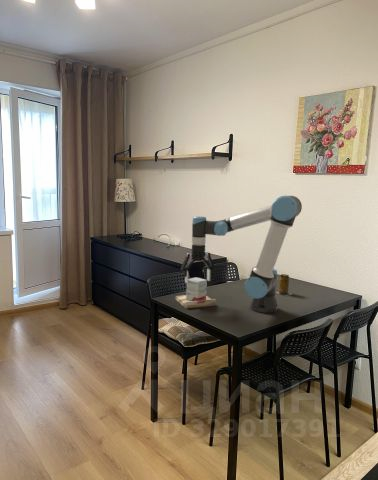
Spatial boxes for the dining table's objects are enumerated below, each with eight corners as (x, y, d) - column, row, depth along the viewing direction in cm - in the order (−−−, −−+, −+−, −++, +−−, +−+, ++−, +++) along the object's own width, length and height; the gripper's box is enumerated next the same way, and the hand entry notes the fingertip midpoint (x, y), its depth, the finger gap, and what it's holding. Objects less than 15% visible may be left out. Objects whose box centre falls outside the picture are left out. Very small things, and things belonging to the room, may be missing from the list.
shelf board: (215, 305, 208) (215, 299, 207) (186, 308, 201) (186, 302, 200) (203, 296, 223) (203, 291, 222) (175, 299, 216) (175, 293, 215)
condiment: (282, 291, 243) (283, 273, 241) (293, 294, 236) (294, 276, 235) (275, 292, 238) (276, 274, 236) (286, 296, 232) (287, 277, 230)
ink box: (206, 299, 211) (207, 279, 210) (197, 302, 205) (198, 282, 203) (194, 296, 217) (195, 276, 215) (185, 299, 210) (186, 279, 208)
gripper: (215, 242, 214) (214, 278, 217) (175, 244, 204) (174, 281, 207) (221, 244, 207) (220, 281, 210) (180, 246, 197) (179, 285, 200)
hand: (197, 281), depth 209 cm, fingers open, 13 cm apart
